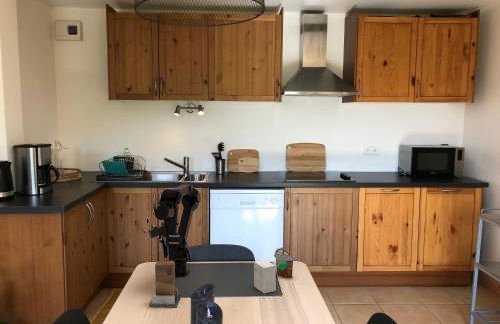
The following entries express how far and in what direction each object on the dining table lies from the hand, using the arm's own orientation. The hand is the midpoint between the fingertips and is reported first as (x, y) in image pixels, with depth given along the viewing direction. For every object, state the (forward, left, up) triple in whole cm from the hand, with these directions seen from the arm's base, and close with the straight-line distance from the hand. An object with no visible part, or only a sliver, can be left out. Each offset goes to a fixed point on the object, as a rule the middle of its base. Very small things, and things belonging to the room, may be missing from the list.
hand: (167, 259), depth 164 cm
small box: (-8, +38, -12) cm, 41 cm away
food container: (-25, +42, -12) cm, 50 cm away
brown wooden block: (+13, +5, -10) cm, 18 cm away
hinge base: (+13, +5, -11) cm, 18 cm away
